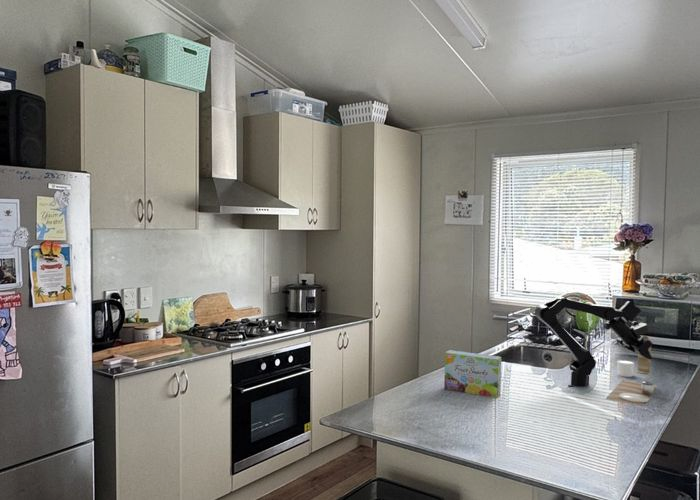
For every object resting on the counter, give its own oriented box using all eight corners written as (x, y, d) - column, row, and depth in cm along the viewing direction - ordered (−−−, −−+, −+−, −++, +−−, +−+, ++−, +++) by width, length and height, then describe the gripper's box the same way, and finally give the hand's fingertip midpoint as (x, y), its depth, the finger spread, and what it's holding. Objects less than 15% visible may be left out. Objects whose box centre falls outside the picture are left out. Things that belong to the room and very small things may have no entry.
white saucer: (635, 403, 211) (635, 402, 211) (613, 396, 220) (613, 394, 220) (654, 401, 215) (654, 399, 215) (632, 393, 224) (632, 392, 224)
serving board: (643, 409, 209) (643, 405, 209) (604, 402, 216) (605, 399, 216) (656, 388, 236) (656, 385, 236) (621, 383, 244) (622, 380, 244)
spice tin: (647, 395, 222) (648, 384, 222) (638, 392, 226) (639, 381, 226) (655, 394, 224) (656, 383, 224) (646, 391, 228) (646, 380, 228)
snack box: (443, 389, 228) (444, 351, 227) (448, 386, 233) (449, 349, 232) (497, 398, 218) (498, 358, 218) (500, 394, 223) (502, 355, 223)
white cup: (631, 380, 249) (632, 364, 248) (614, 377, 253) (615, 361, 252) (635, 377, 254) (635, 361, 254) (618, 374, 258) (619, 359, 258)
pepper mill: (644, 374, 232) (646, 337, 232) (633, 371, 237) (635, 335, 236) (653, 373, 234) (654, 336, 234) (642, 370, 239) (644, 334, 238)
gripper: (648, 320, 225) (675, 348, 226) (625, 312, 244) (650, 339, 244) (627, 339, 225) (654, 368, 226) (605, 330, 244) (630, 357, 245)
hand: (647, 357), depth 235 cm, fingers closed on pepper mill, 5 cm apart
